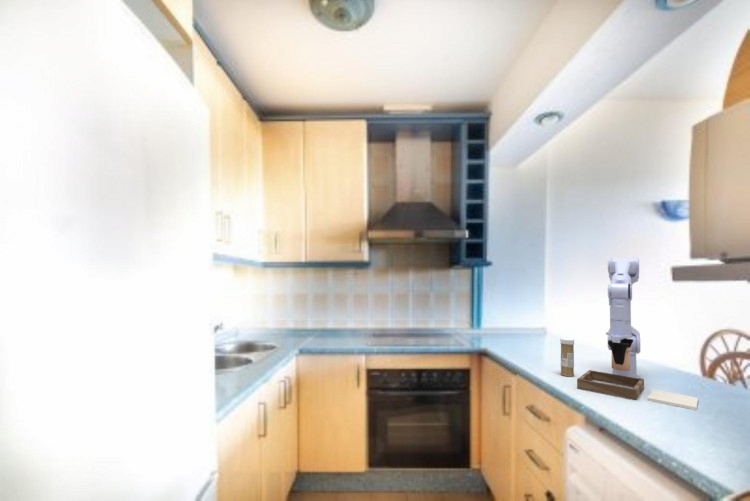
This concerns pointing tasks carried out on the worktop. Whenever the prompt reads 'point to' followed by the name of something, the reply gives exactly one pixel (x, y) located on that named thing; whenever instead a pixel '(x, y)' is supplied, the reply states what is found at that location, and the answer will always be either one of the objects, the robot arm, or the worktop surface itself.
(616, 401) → the worktop surface
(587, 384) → the box
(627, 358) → the terracotta pot
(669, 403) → the ceramic tile
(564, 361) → the sprinkles bottle
